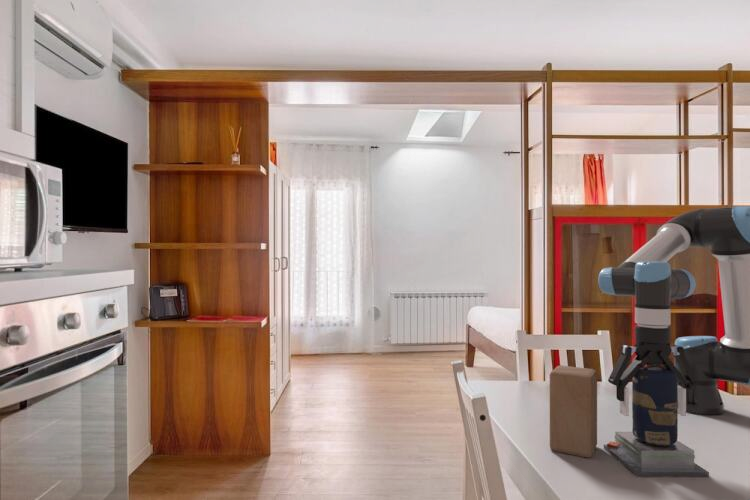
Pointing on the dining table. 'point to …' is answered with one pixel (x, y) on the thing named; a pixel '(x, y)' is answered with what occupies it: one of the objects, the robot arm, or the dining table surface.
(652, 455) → the stand
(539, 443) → the dining table surface
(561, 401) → the block
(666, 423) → the canister
